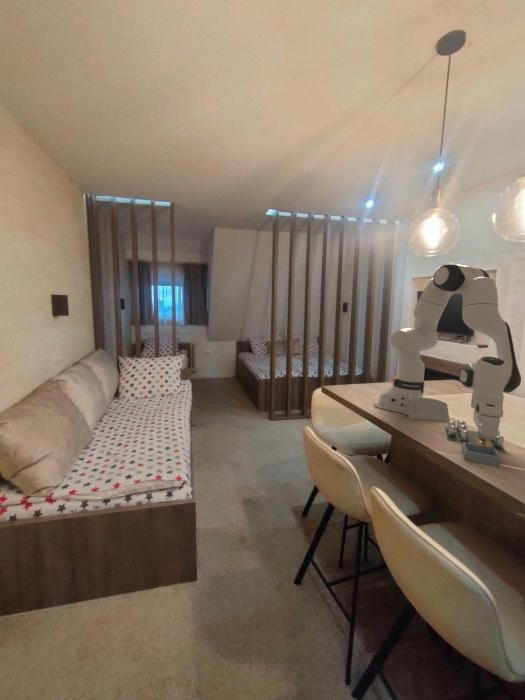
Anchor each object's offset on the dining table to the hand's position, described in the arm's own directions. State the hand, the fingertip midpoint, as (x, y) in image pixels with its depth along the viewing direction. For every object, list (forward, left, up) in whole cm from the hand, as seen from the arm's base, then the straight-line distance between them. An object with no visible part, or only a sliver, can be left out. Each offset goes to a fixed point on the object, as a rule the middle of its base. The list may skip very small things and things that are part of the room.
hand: (481, 442), depth 110 cm
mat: (-2, +7, -2) cm, 7 cm away
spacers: (-2, +7, -2) cm, 7 cm away
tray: (-2, -11, -2) cm, 11 cm away
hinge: (-17, +24, -2) cm, 29 cm away
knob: (0, -3, -1) cm, 4 cm away
